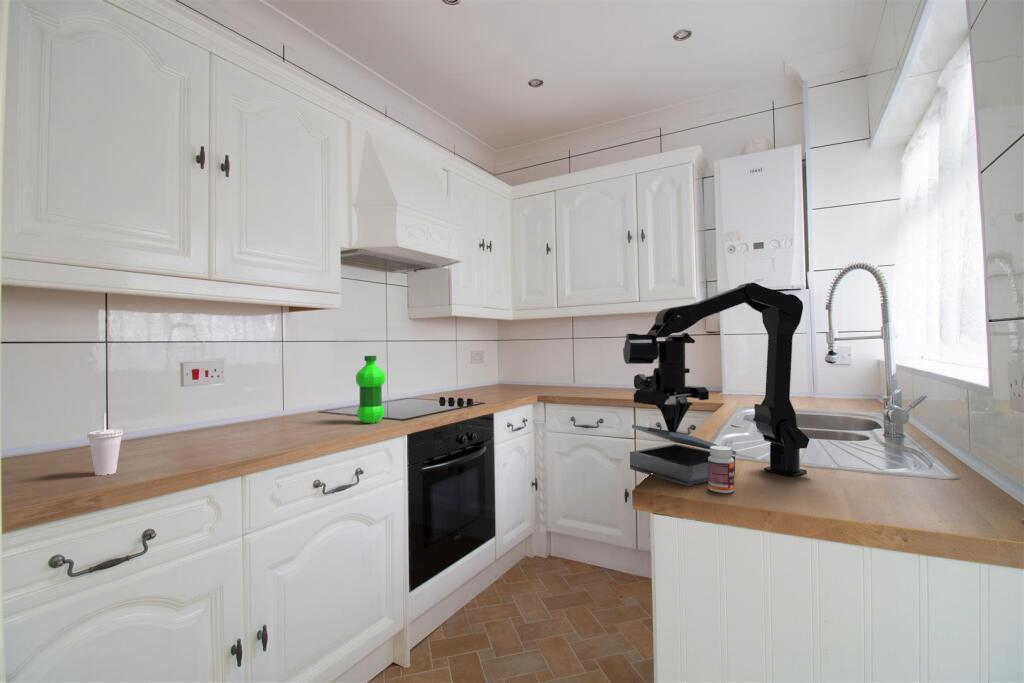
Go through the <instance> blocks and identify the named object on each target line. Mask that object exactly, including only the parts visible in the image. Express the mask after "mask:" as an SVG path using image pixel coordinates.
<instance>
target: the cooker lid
mask: <svg viewBox="0 0 1024 683" xmlns="http://www.w3.org/2000/svg"><path fill="white" fill-rule="evenodd" d="M631 429H633V430H637V431H640V432H643V433H646V434H649V435H652V436H655V437H657V438H658V437H659V438H661V439H664V440H667V441H670V442H672V443H675V444H680V445H684V446H689V447H694V448H699V449H703V450H708V451H710V447H711V446H720V445H719V444H716V443H713V442H711V441H707V440H705V439H701V438H699V437H697V436H693V435H688V434H684V433H678V432H676V433H674V432H669V431H668V430H666V429H665V430H664V429H659V428H656V427H655V428H654V427H650V426H649V427H646V426H643V425H636V424H631ZM736 455H737V451H736V450H733V449H732V456H736Z"/></svg>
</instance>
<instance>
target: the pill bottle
mask: <svg viewBox="0 0 1024 683" xmlns="http://www.w3.org/2000/svg"><path fill="white" fill-rule="evenodd" d="M732 450H733V448H732V447H730V446H726V445H725V446H724V445H719V446H711V447H710V450H709V451H710V454H711V456H709V457H708V481H707V484H708V486H707V487H708V489H709V490H710V491H712V492H715V493H721V494H731V493H733V492H735V475H734V459H733V458H732V457H731V456H733V454H732Z"/></svg>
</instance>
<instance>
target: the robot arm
mask: <svg viewBox="0 0 1024 683" xmlns="http://www.w3.org/2000/svg"><path fill="white" fill-rule="evenodd" d="M741 304H746V305H747V306H749V307H750V308H751V309H752V310H755V311H756V312H759V313H760V314H761V318H762V324H763V326H764V328H765V330H766V333H767V336H768V337H767V352H766V353H767V355H766V359H767V360H766V373H765V375H766V376H765V393H764V398H763V400H762V402H761V403H760V404H759V403H755V404H754V405H753V406H754V417H753V419H752V421H753V422H755V426H756V429H757V430H758V431H759V433H761V435H762V438H763V440H764V441H765V442H769V466H767V467H763V470H764V471H765V472H770V473H774V474H778V475H783V476H787V477H795V476H800V475H803V474H806V473H808V470H807V469H802V468H801V465H800V464H801V463H800V462H801V461H800V460H801V459H800V458H801V457H800V452H801V451H800V449H807V448H808V445H809V442H810V438H809V437H808V436H807V435H806V434H805V433H804V432H803V431H802V430H801V429H800V428H799V427H798V421H797V413H796V410H795V409H794V406H793V404H792V401H791V396H790V395H791V379H792V378H791V376H792V360H793V359H792V357H793V356H792V355H793V337H794V334H795V333H796V331H797V329H798V327H799V325H800V323H801V320H802V316H803V312H804V311H803V310H804V302H803V301H802V300H801V299H800V298H799V296H797V295H796V294H792V293H788V294H786V293H783V292H781V291H779V290H775V289H771V288H769V287H765V286H762V285H760V284H758V283H756V282H753V281H751V282H746V283H742V284H740V285H738V286H736V287H734V288H732V289H729V290H726V291H724V292H720V293H718V294H715V295H713V296H710V297H707V298H704V299H702V300H699V301H696V302H694V303H688V304H683V305H679V306H672V307H667V308H663V309H660V310H659V311H658V312H657V314H656V316H655V319H654V324H653V325H652V326H651V328H650V329H649V330H648V332H647V333H645V334H641V333H640V334H639V333H638V334H637V333H626V334H625V337H626V339H625V341H624V345H623V346H624V347H623V350H622V353H623V360H624V363H625V364H626V365H637V364H638V365H643V364H644V365H648V364H649V365H652V364H653V363H654V361H655V360H658V364H657V365H658V367H654V369H653V372H652V373H653V374H652V375H649V376H646V375H645V374H644V373H641V374H640V373H638V374H636V375H634V377H633V386H634V389H636V390H635V391H634V393H633V403H634V404H635V403H636V404H644V405H651V406H656V407H657V408H658V409H659V411H660V412H661V415H662V417H663V420H664V423H665V426H666V428H667V431H669V432H674V433H677V431H678V430H679V429H678V428H679V427H680V424H681V423H682V421H683V420H684V417H685V416H686V413H687V412H688V410H689V409H690V407H691V406H693V404H694V403H693V402H690V401H688V398H691V399H698V400H699V401H707V400H710V397H709V396H710V395H709V393H710V392H709V390H708V389H707V388H706V387H705V386H694V385H686V374H690V372H691V370H690V368H687V367H686V344H695V343H696V340H695V339H694V338H693V337H691V336H690V334H689V333H688V332H684V331H687V329H689V328H691V327H692V326H694V325H695V324H697V323H698V322H699V321H701V320H702V319H704V318H707V317H709V316H712V315H715V314H718V313H721V312H724V311H726V310H728V309H731V308H734V307H737V306H739V305H741ZM679 333H682V334H680V335H672V334H679ZM660 338H666V339H665V340H657V339H660Z"/></svg>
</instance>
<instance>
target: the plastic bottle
mask: <svg viewBox="0 0 1024 683" xmlns="http://www.w3.org/2000/svg"><path fill="white" fill-rule="evenodd" d="M363 358H364V361H365V365H364V366H363V367H362V368H361V369H360V370H358V371H357V372H356V375H355V383H356V384H357V386H358V387H359V406H358V408H357V411H356V415H357V417H358V420H360V421H361V422H364V423H374V424H376V423H375V422H378V423H379V422H380V421H381V420H382V419H383V418H384V416H385V408H384V407H383V405H382V402H383V401H382V399H383V398H382V396H383V395H382V394H383V393H382V387H383V385H384V384H385V383H386V374H385V372H384V371H382V370H381V369H380V367H378V366H377V364H376V361H377V355H364V357H363ZM364 423H363V424H364Z"/></svg>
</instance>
